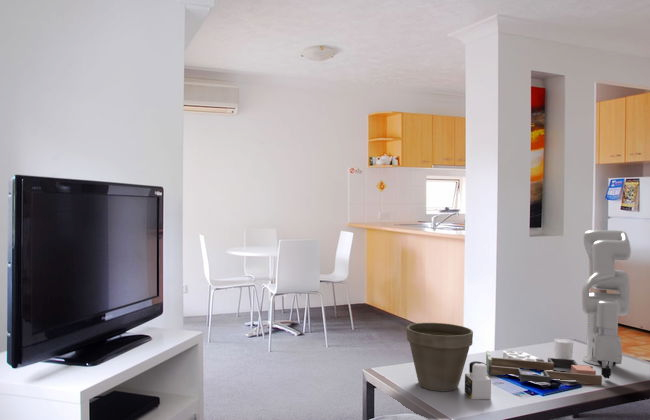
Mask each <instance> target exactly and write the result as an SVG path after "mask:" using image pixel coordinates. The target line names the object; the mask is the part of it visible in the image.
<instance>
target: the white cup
mask: <svg viewBox="0 0 650 420" xmlns="http://www.w3.org/2000/svg"><path fill="white" fill-rule="evenodd" d="M553 346H554V347H553V348H554V349H553V350H554V351H553V352H554V358H557V359H569V360H573V359H572V358H573V353H574V341H573V340H570V339H567V338H555V339H553Z"/></svg>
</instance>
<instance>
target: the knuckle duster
mask: <svg viewBox="0 0 650 420" xmlns="http://www.w3.org/2000/svg"><path fill="white" fill-rule="evenodd" d="M502 358H505V359H517V360H528V361H540V362H546V361H545V360H544V359H543V358H541V357H537V356H535V355H533V354H530V353H527V352H525V351H514V350H503V351H502Z"/></svg>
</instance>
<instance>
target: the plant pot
mask: <svg viewBox="0 0 650 420" xmlns="http://www.w3.org/2000/svg"><path fill="white" fill-rule="evenodd" d="M473 337H474V331H473V330H472V329H471V328H469V327H465V326H463V325H458V324H452V323H443V322H440V323H439V322H417V323H412V324H408V325H407V326H406V340H407V341H408V342H409V345H410V351H411V355H412V361H413V364H414V369H415V373H416V377H417V381H418V384H419V386H420V387H422V388H425V389H426V390H429V391H430V390H431V391H434V392H435V391H436V392H451V391H456V390H457V389H458V387H459V386H460V382H461V378H462V376H463V371H464V368H465V365H466V361H467V357H468V353H469V351H470V347H471V346H473Z"/></svg>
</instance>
